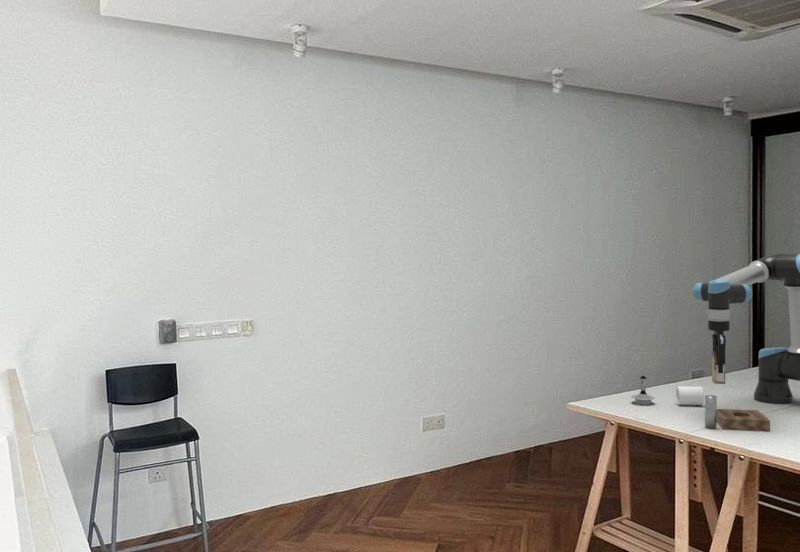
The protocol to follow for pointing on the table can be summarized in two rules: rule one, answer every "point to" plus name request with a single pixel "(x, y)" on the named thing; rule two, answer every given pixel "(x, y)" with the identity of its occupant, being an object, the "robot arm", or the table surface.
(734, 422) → the bore block
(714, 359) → the square bit
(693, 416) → the table surface
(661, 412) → the table surface
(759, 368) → the robot arm
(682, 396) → the mug
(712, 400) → the round bit
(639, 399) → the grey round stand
